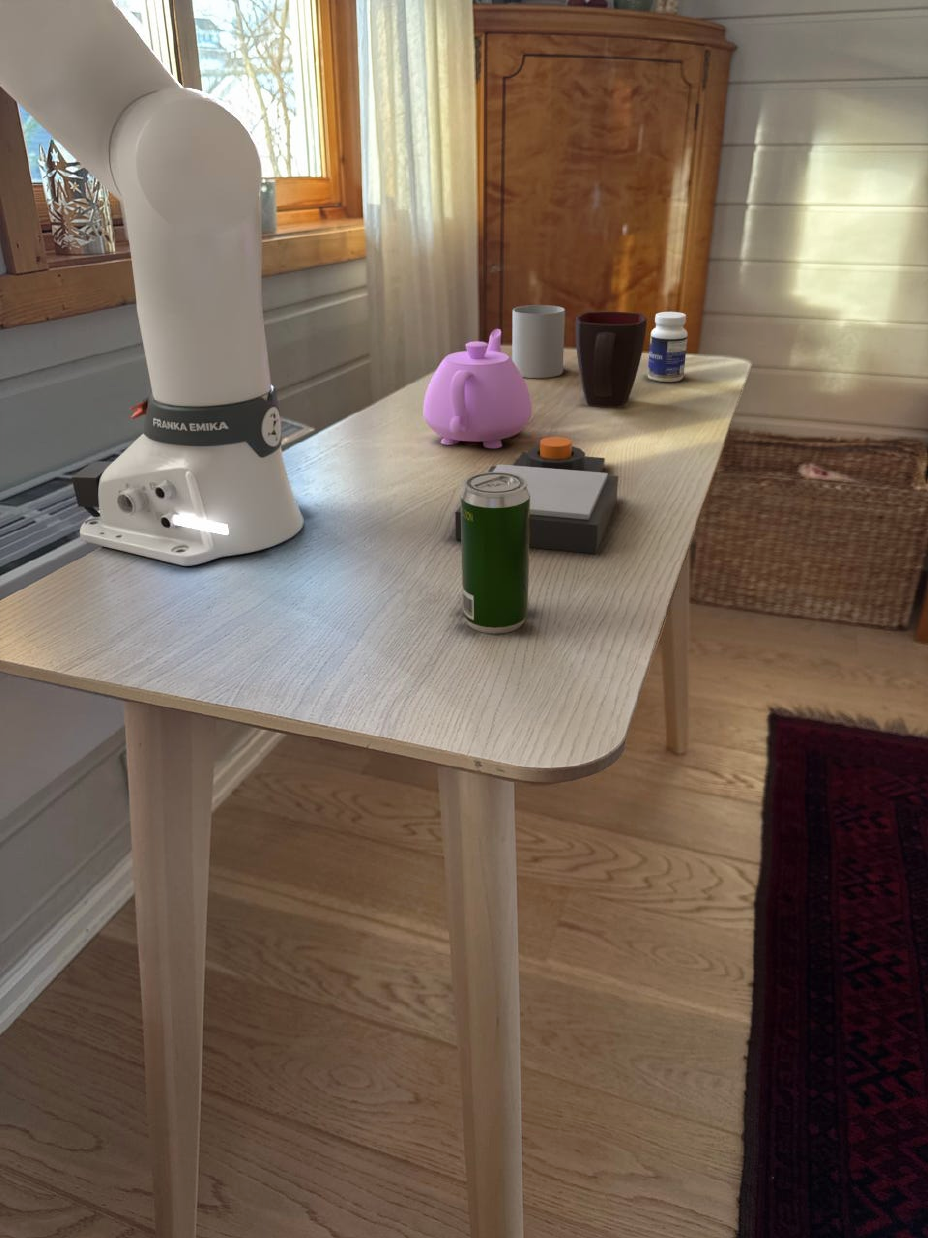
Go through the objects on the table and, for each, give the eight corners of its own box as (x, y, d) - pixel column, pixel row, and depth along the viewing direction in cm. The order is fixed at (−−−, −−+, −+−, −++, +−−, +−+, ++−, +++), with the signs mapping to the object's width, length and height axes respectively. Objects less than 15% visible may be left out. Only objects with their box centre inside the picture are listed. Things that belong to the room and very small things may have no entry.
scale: (455, 539, 89) (454, 505, 87) (491, 491, 101) (491, 460, 99) (596, 554, 85) (597, 519, 84) (616, 502, 97) (618, 470, 95)
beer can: (487, 642, 71) (486, 500, 65) (450, 616, 75) (446, 479, 69) (540, 623, 74) (544, 485, 68) (502, 598, 78) (503, 466, 72)
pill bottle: (640, 376, 146) (645, 312, 141) (672, 372, 147) (678, 309, 143) (657, 384, 141) (663, 318, 136) (690, 381, 143) (696, 315, 138)
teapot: (452, 411, 130) (450, 324, 124) (548, 417, 126) (550, 328, 120) (403, 453, 113) (398, 355, 107) (512, 463, 109) (513, 361, 103)
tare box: (502, 489, 101) (502, 463, 100) (522, 460, 110) (523, 437, 108) (590, 496, 99) (591, 470, 97) (604, 467, 107) (605, 442, 106)
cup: (571, 369, 151) (573, 307, 146) (548, 380, 145) (550, 315, 140) (527, 364, 155) (527, 303, 150) (503, 374, 149) (503, 311, 144)
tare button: (536, 459, 102) (537, 444, 101) (543, 450, 105) (543, 435, 104) (568, 462, 101) (568, 447, 100) (573, 452, 104) (574, 437, 103)
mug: (643, 394, 136) (649, 312, 130) (635, 420, 124) (641, 331, 118) (577, 391, 138) (581, 310, 132) (563, 417, 126) (566, 329, 120)
